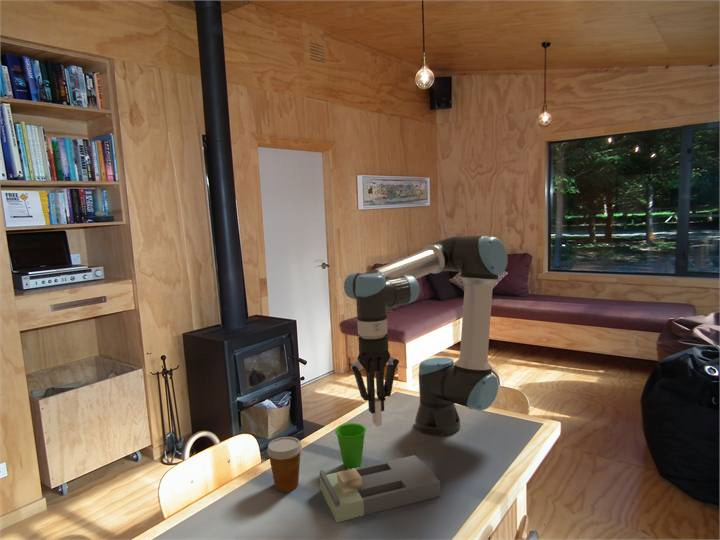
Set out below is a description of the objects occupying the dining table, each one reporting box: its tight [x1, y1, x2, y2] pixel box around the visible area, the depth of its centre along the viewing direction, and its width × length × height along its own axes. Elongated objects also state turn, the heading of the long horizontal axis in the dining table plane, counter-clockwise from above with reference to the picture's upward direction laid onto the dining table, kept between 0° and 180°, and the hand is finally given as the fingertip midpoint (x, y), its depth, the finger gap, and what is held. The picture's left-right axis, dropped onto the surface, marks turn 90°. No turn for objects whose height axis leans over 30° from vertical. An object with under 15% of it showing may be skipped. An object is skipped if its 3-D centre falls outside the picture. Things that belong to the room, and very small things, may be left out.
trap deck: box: [319, 454, 441, 523], centre depth 130 cm, size 28×15×6 cm, turn 109°
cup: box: [334, 422, 367, 470], centre depth 145 cm, size 9×9×11 cm
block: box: [336, 468, 362, 493], centre depth 127 cm, size 5×5×3 cm
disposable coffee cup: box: [266, 436, 303, 493], centre depth 136 cm, size 10×10×12 cm
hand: (377, 423), depth 129 cm, fingers closed
